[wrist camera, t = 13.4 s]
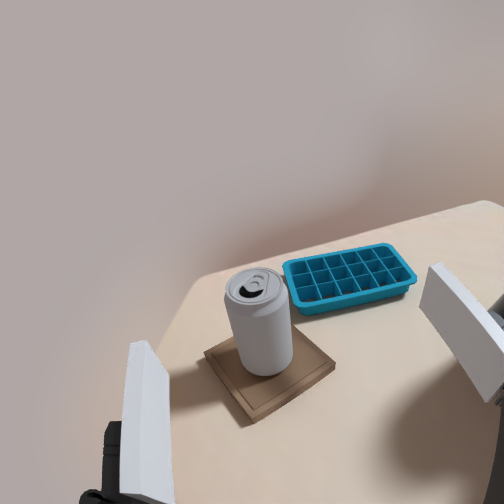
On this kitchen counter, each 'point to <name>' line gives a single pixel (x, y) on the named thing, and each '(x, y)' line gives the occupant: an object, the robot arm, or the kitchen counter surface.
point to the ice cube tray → (347, 278)
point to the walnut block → (274, 386)
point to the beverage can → (260, 320)
